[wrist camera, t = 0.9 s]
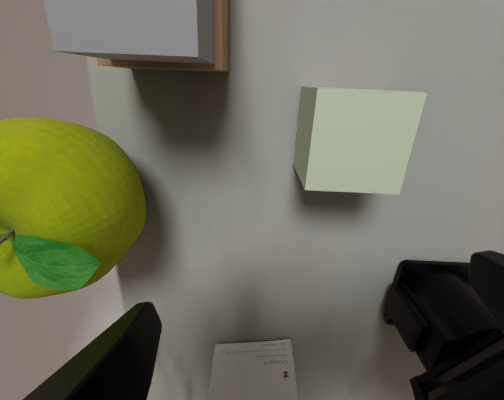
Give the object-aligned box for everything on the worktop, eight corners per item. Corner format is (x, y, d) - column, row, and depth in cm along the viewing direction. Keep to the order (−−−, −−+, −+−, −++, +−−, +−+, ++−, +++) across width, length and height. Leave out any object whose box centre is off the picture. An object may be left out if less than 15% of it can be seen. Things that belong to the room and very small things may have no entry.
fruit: (174, 231, 21) (112, 346, 12) (56, 232, 21) (-94, 345, 12) (156, 107, 18) (47, 134, 8) (13, 109, 18) (-244, 139, 9)
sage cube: (381, 89, 17) (427, 92, 13) (364, 167, 19) (399, 194, 14) (301, 86, 17) (317, 87, 12) (292, 164, 19) (304, 190, 14)
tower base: (230, -52, 15) (221, -97, 11) (229, 72, 17) (222, 70, 13) (117, -57, 15) (70, -104, 11) (132, 68, 17) (98, 65, 13)
